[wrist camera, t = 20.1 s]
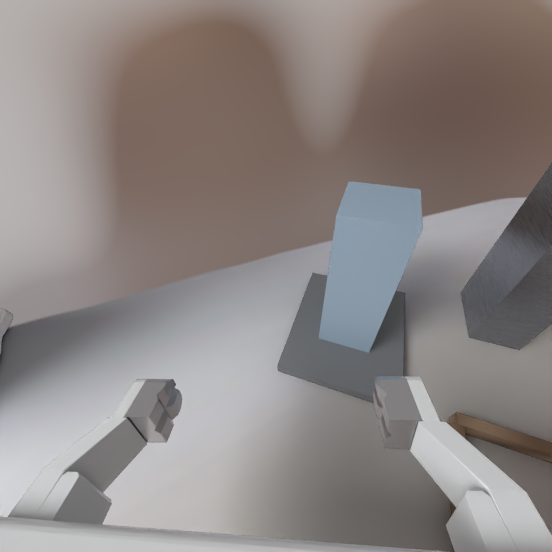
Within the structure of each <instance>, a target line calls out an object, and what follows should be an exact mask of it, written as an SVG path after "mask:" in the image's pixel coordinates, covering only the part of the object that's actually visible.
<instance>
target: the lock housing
mask: <svg viewBox="0 0 552 552" xmlns="http://www.w3.org/2000/svg"><path fill="white" fill-rule="evenodd" d="M461 296H462V302H463V307H464V313H465V318H466V324H467V329H468V335H469V338H473V339H477V340H481V341H485V342H489V343H493V344H497V345H502V346H506V347H510V348H514V349H518V350H520V349H521V348H522V347H524V346H525V345H526V344H527V343H529V342H530V341H531V340H532V339H533V338H535V337H536V336H537V335H538V334H540V333H541V332H542V331H543V330H545V329H546V328H547V327H548V326H550V325H551V324H552V163H551V165H550V166H549V168H548V169H547V171H546V172H545V173H544V175H543V176H542V178H541V179H540V180H539V182H538V183H537V185H536V186H535V188H534V189H533V190H532V192H531V193H530V195H529V196H528V197H527V199H526V200H525V202H524V203H523V205H522V206H521V207H520V209H519V210H518V212H517V213H516V215H515V216H514V217H513V219H512V220H511V222H510V223H509V225H508V226H507V227H506V229H505V230H504V232H503V233H502V235H501V236H500V237H499V239H498V240H497V242H496V243H495V244H494V246H493V247H492V249H491V250H490V252H489V253H488V254H487V256H486V257H485V259H484V260H483V262H482V263H481V264H480V266H479V267H478V269H477V270H476V272H475V273H474V274H473V276H472V277H471V279H470V280H469V281H468V283H467V284H466V286H465V287H464V289H463V290H462V291H461Z"/></svg>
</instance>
